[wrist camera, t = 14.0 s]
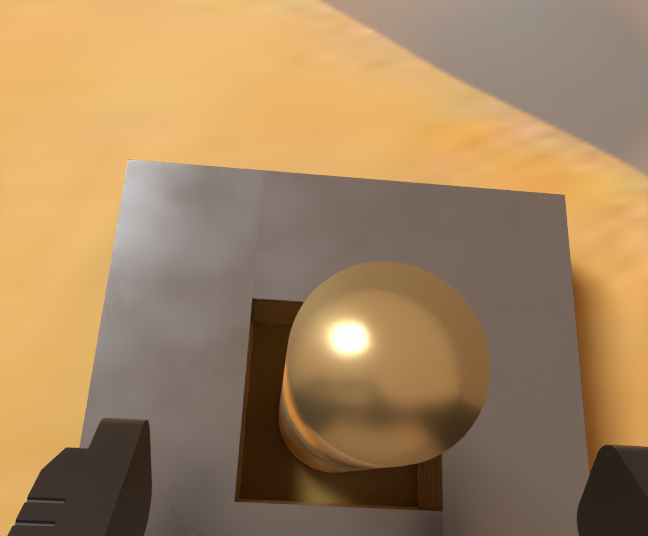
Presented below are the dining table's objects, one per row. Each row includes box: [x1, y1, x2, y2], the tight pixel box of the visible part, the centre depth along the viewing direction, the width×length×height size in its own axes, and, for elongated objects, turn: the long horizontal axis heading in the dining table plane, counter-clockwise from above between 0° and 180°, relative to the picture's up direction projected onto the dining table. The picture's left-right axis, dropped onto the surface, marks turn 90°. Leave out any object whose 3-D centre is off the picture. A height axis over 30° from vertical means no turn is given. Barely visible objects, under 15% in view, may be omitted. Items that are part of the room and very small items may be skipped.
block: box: [80, 160, 589, 536], centre depth 19 cm, size 14×14×3 cm
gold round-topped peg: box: [278, 261, 490, 473], centre depth 16 cm, size 4×4×10 cm
